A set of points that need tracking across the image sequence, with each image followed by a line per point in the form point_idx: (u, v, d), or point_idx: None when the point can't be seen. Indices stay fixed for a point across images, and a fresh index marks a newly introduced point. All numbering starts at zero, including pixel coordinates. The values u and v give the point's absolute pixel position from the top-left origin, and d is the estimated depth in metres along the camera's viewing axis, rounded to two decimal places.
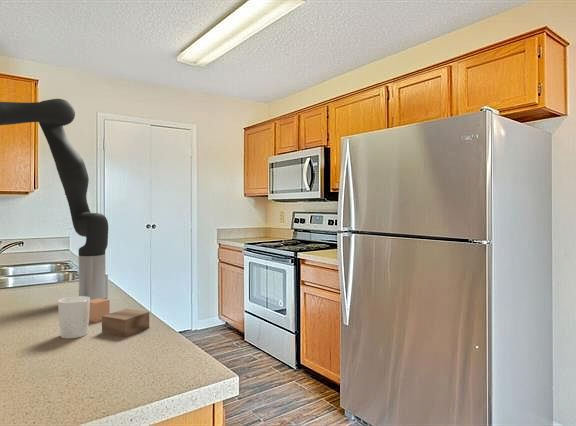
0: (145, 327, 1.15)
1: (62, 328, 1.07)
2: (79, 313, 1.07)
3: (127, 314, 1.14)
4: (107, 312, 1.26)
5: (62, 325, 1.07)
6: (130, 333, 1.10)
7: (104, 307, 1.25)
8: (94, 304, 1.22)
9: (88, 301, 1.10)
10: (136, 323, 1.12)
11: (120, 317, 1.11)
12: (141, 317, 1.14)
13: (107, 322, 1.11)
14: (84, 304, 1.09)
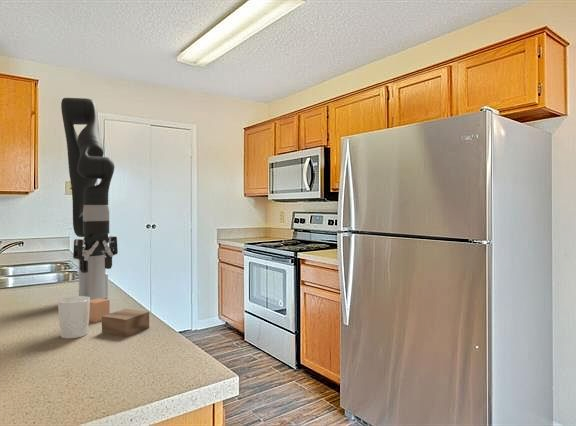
0: (145, 327, 1.15)
1: (62, 328, 1.07)
2: (79, 313, 1.07)
3: (127, 314, 1.14)
4: (107, 312, 1.26)
5: (62, 325, 1.07)
6: (131, 333, 1.10)
7: (104, 307, 1.25)
8: (94, 304, 1.22)
9: (88, 301, 1.10)
10: (136, 323, 1.12)
11: (121, 317, 1.11)
12: (141, 316, 1.14)
13: (107, 322, 1.11)
14: (84, 304, 1.09)
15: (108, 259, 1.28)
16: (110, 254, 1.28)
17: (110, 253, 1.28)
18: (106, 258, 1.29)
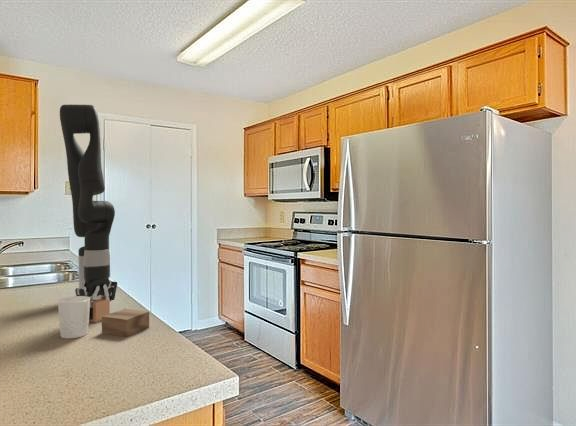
0: (145, 327, 1.16)
1: (62, 328, 1.07)
2: (79, 313, 1.07)
3: (127, 314, 1.14)
4: (107, 312, 1.26)
5: (62, 325, 1.07)
6: (131, 333, 1.10)
7: (104, 307, 1.25)
8: (94, 304, 1.22)
9: (88, 301, 1.10)
10: (137, 323, 1.12)
11: (121, 317, 1.11)
12: (141, 316, 1.14)
13: (107, 322, 1.11)
14: (84, 304, 1.09)
15: None
16: None
17: None
18: None
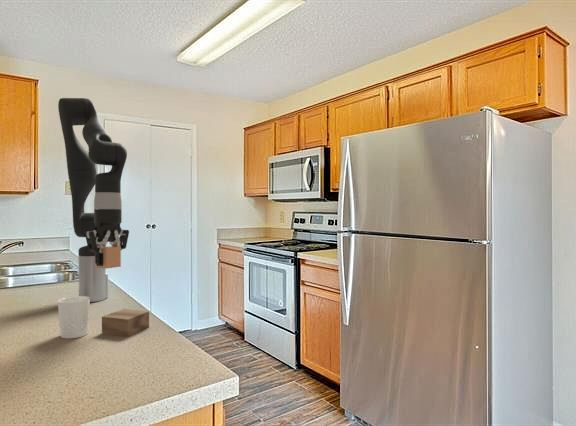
0: (145, 326, 1.16)
1: (62, 328, 1.07)
2: (79, 313, 1.07)
3: (127, 314, 1.14)
4: (118, 259, 1.19)
5: (62, 325, 1.07)
6: (132, 333, 1.11)
7: (115, 254, 1.18)
8: (105, 249, 1.15)
9: (88, 301, 1.10)
10: (137, 322, 1.13)
11: (122, 316, 1.11)
12: (142, 316, 1.14)
13: (107, 322, 1.11)
14: (84, 304, 1.09)
15: None
16: None
17: None
18: None
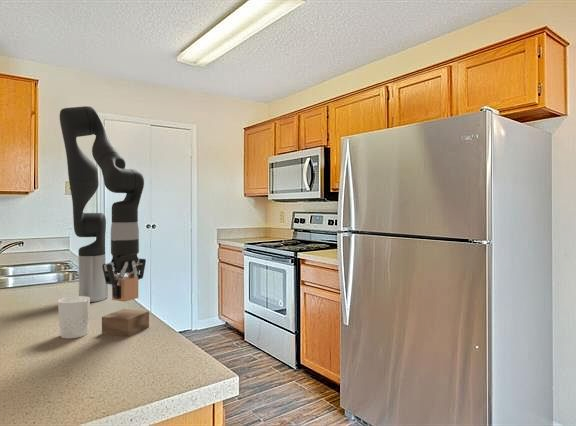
0: (145, 326, 1.16)
1: (62, 328, 1.07)
2: (79, 313, 1.07)
3: (127, 314, 1.14)
4: (136, 291, 1.15)
5: (62, 325, 1.07)
6: (133, 332, 1.11)
7: (133, 286, 1.14)
8: (122, 281, 1.11)
9: (88, 301, 1.10)
10: (138, 322, 1.13)
11: (122, 316, 1.11)
12: (142, 316, 1.14)
13: (107, 322, 1.11)
14: (84, 304, 1.09)
15: None
16: None
17: None
18: None
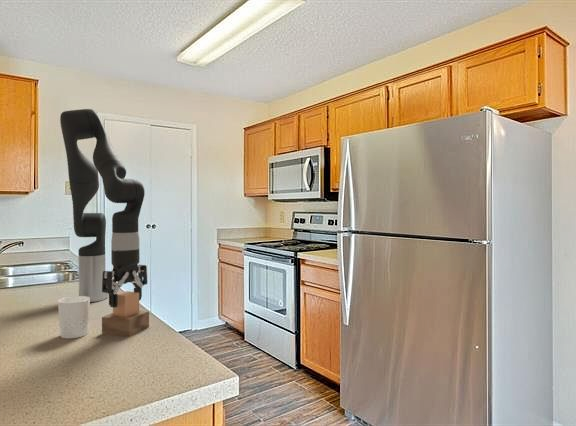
0: (145, 326, 1.16)
1: (62, 328, 1.07)
2: (79, 313, 1.07)
3: None
4: (137, 306, 1.15)
5: (62, 325, 1.07)
6: (133, 333, 1.11)
7: (134, 301, 1.14)
8: (123, 297, 1.11)
9: (88, 301, 1.10)
10: (138, 322, 1.13)
11: (122, 317, 1.11)
12: (142, 316, 1.15)
13: (108, 322, 1.11)
14: (84, 304, 1.09)
15: (138, 290, 1.18)
16: (140, 285, 1.18)
17: (140, 284, 1.18)
18: (135, 289, 1.18)
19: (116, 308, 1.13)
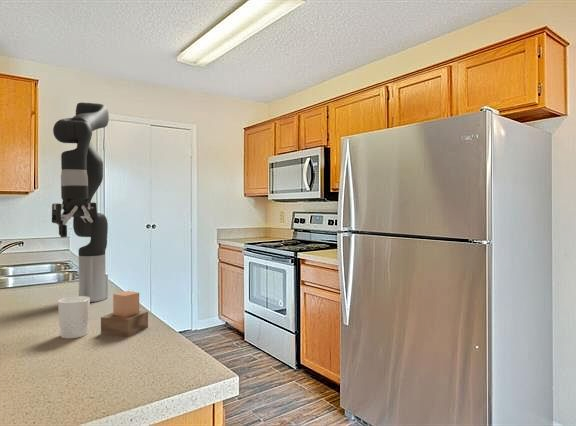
0: (144, 326, 1.16)
1: (62, 328, 1.07)
2: (79, 313, 1.07)
3: None
4: (137, 306, 1.15)
5: (62, 325, 1.07)
6: (132, 333, 1.10)
7: (133, 301, 1.14)
8: (122, 297, 1.11)
9: (88, 301, 1.10)
10: (137, 323, 1.12)
11: (121, 317, 1.11)
12: (141, 316, 1.14)
13: (107, 323, 1.10)
14: (84, 304, 1.09)
15: (88, 225, 1.28)
16: (90, 220, 1.28)
17: (90, 219, 1.28)
18: (86, 224, 1.29)
19: (116, 307, 1.13)
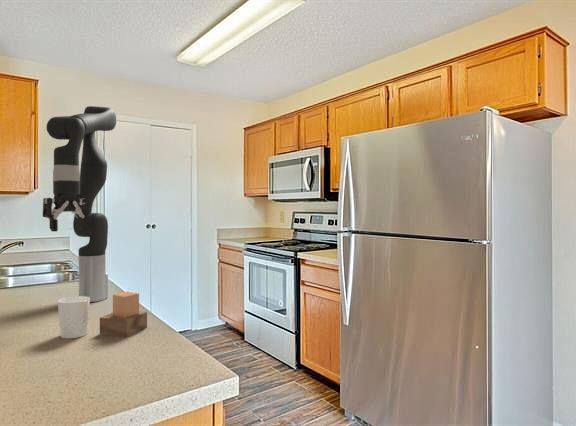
0: (143, 327, 1.16)
1: (62, 328, 1.07)
2: (79, 313, 1.07)
3: None
4: (136, 307, 1.14)
5: (62, 325, 1.07)
6: (131, 333, 1.10)
7: (133, 302, 1.13)
8: (122, 298, 1.10)
9: (88, 301, 1.10)
10: (136, 323, 1.12)
11: (120, 317, 1.11)
12: (140, 317, 1.14)
13: (105, 323, 1.10)
14: (84, 304, 1.09)
15: (79, 220, 1.30)
16: (81, 215, 1.30)
17: (81, 214, 1.30)
18: (77, 219, 1.30)
19: (115, 308, 1.12)
